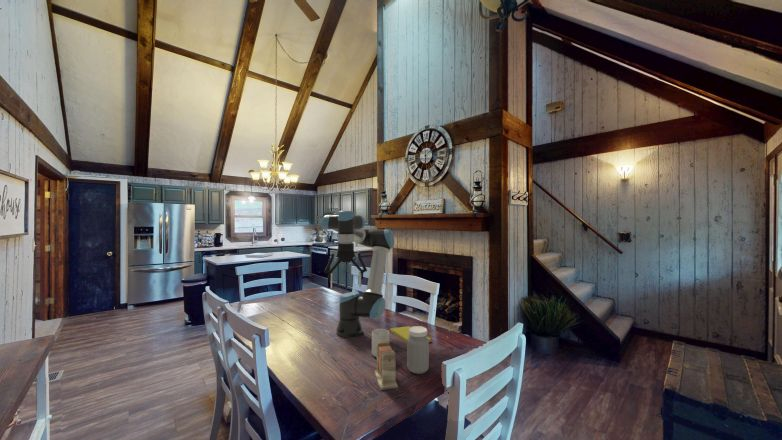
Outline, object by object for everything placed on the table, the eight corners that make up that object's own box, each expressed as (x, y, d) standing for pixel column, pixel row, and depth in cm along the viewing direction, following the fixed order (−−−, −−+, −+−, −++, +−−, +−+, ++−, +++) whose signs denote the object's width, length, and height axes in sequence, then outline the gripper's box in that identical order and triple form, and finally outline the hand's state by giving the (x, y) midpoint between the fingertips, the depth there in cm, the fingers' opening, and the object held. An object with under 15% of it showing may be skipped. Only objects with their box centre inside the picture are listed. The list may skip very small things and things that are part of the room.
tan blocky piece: (374, 371, 128) (374, 340, 128) (389, 370, 130) (389, 339, 130) (380, 390, 115) (380, 355, 115) (397, 387, 116) (398, 353, 116)
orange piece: (380, 373, 120) (380, 351, 120) (378, 368, 124) (378, 347, 124) (392, 371, 121) (392, 349, 121) (390, 366, 125) (390, 345, 125)
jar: (412, 361, 138) (413, 323, 138) (432, 367, 133) (432, 327, 133) (403, 371, 129) (403, 330, 129) (423, 377, 124) (423, 335, 124)
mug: (387, 359, 140) (387, 336, 140) (369, 358, 141) (369, 335, 141) (391, 348, 152) (391, 327, 152) (374, 347, 153) (375, 326, 153)
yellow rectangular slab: (431, 342, 160) (406, 328, 181) (431, 338, 160) (406, 324, 181) (413, 347, 154) (389, 332, 174) (413, 343, 154) (390, 328, 174)
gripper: (319, 244, 133) (319, 290, 133) (372, 243, 139) (372, 287, 139) (319, 242, 141) (319, 286, 141) (370, 241, 146) (370, 283, 147)
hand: (345, 287), depth 140 cm, fingers open, 13 cm apart
